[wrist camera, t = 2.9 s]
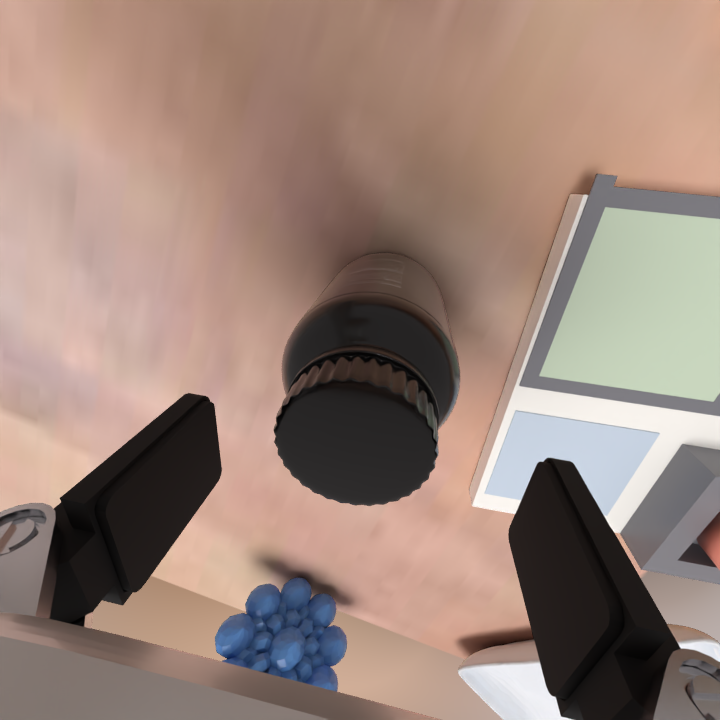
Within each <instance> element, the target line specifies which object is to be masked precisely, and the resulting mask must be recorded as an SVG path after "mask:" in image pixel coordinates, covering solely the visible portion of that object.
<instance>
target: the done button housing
mask: <svg viewBox="0 0 720 720" xmlns="http://www.w3.org/2000/svg"><path fill="white" fill-rule="evenodd" d="M719 512H720V450H718V449H712V448H705V447H699V446H693V445H686V444H682V445H681V446H680V448H679V449H678V451H677V452H676V453H675V455H674V456H673V458H672V459H671V461H670V462H669V463H668V465H667V466H666V468H665V469H664V471H663V472H662V473H661V475H660V476H659V478H658V479H657V481H656V482H655V484H654V485H653V486H652V488H651V489H650V491H649V492H648V494H647V495H646V496H645V498H644V499H643V501H642V502H641V504H640V505H639V507H638V508H637V509H636V511H635V512H634V514H633V515H632V517H631V518H630V519H629V521H628V522H627V524H626V525H625V527H624V528H623V530H622V531H621V532H620V534H621V536H622V538H623V539H624V541H625V543H626V544H627V546H628V548H629V549H630V551H631V553H632V555H633V556H634V558H635V560H636V561H637V563H638V565H639V567H640V568H641V570H646V571H652V572H657V573H663V574H667V575H673V576H678V577H683V578H688V579H694V580H699V581H705V582H710V583H715V584H720V570H719V569H718V568H717V566H716V565H715V564H714V563H713V561H712V560H711V559H710V558H709V556H708V555H707V554H706V553H705V551H704V550H703V549H702V547H701V546H700V545H699V544H698V542H697V539H696V538H697V537H698V536H699V535H700V534H701V532H702V531H703V530H704V529H705V528H706V527H707V525H708V524H709V523H710V522H711V521H712V520H713V519H714V517H715V516H716V515H717V514H718V513H719Z"/></svg>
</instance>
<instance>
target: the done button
mask: <svg viewBox="0 0 720 720" xmlns="http://www.w3.org/2000/svg"><path fill="white" fill-rule="evenodd" d="M696 539H697V542H698V544H699V545H700V546H701V547H702V549H703V550H704V551H705V553H706V554H707V555H708V556H709V558H710V559H711V560H712V561H713V563H714V564H715V565H716V566H717V568H718V569H719V570H720V512H719V513H718V514H717V515H716V516H715V517H714V519H713V520H712V521H711V522H710V523H709V524H708V525H707V527H706V528H705V529H704V530H703V531H702V532H701V534H700V535H699V536H698V537H697V538H696Z"/></svg>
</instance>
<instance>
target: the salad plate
mask: <svg viewBox="0 0 720 720" xmlns="http://www.w3.org/2000/svg"><path fill="white" fill-rule="evenodd" d="M667 625H668V627H669V629H670V630H671V632H672V634H673V636H674V637H675V639H676V641H677V643H678V644H679V646H680V648H681V649H682V648H684V649H691V650H696V651H699V652H701V653H703V654H706V655H708V656H711V657H712V658H714V659H715V660H717V661H719V662H720V643H719V642H718V641H717V640H715V639H714V638H712V637H711V636H709V635H707V634H705V633H703V632H701V631H699V630H696V629H693V628H689V627H685V626H679V625H672V624H667ZM458 674H459V675H460V677H462V679H463V680H464V681H465V682H466V683H467V684H468V685H469V686H470V687H471V688H472V689H473V690H474V691H475V692H476V693H477V694H478V695H479V696H480V697H481V698H482V699H483V700H484V701H485V702H486V703H487V704H488V705H489V706H490V707H491V708H492V709H493V710H494V711H495V712H496V713H497V714H498V715H499V716H500V717H501V718H502V719H503V720H573V719H569V718H565V717H561V715H560V711H559V708H558V704H557V700H556V697H554V696H551V695H550V693H549V692H548V690H547V687H546V684H545V680H544V676H543V672H542V668H541V664H540V661H539V657H538V653H537V649H536V645H535V641H534V639H533V640H527V641H521V642H515V643H510V644H506V645H501V646H494V647H489V648H486V649H483V650H480V651H478V652H475V653H473V654H472V655H470V656H469V657H467V658H466V659H465V660H464V661H463V663H462V664H461V665H460V667H459V669H458Z"/></svg>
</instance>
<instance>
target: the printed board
mask: <svg viewBox="0 0 720 720" xmlns="http://www.w3.org/2000/svg"><path fill="white" fill-rule="evenodd" d="M616 179H617V176H613V175H602V174H596V176H595V179H594V182H593V185H592V187H591V190H590V193H589V195H584V194H570V196H569V199H568V202H567V205H566V207H565V210H564V213H563V216H562V219H561V222H560V225H559V228H558V231H557V234H556V237H555V240H554V243H553V245H552V248H551V251H550V254H549V257H548V260H547V263H546V266H545V269H544V272H543V275H542V278H541V281H540V283H539V286H538V289H537V292H536V295H535V298H534V301H533V304H532V307H531V310H530V313H529V316H528V319H527V321H526V324H525V327H524V330H523V333H522V336H521V339H520V342H519V345H518V348H517V351H516V354H515V357H514V359H513V362H512V365H511V368H510V371H509V374H508V377H507V380H506V383H505V386H504V389H503V392H502V395H501V397H500V400H499V403H498V406H497V409H496V412H495V415H494V418H493V421H492V424H491V427H490V430H489V433H488V435H487V438H486V441H485V444H484V447H483V450H482V453H481V456H480V459H479V462H478V465H477V468H476V471H475V473H474V476H473V479H472V482H471V485H470V488H469V492H470V498H471V504H472V506H474V507H480V508H485V509H490V510H496V511H501V512H507V513H512V514H516V511H517V509H518V507H519V504H520V502H521V500H522V497H523V495H524V493H525V490H526V488H527V486H528V483H529V481H530V479H531V476H532V474H533V472H534V470H535V467H536V465H537V463H538V462H544V460H545V459H546V458H555V459H561V460H566V461H571V462H573V464H574V465H575V466H576V468H577V470H578V471H579V473H580V475H581V477H582V478H583V480H584V482H585V484H586V485H587V487H588V489H589V491H590V492H591V494H592V496H593V498H594V499H595V501H596V503H597V505H598V506H599V508H600V510H601V511H602V513H603V515H604V517H605V518H606V520H607V522H608V524H609V525H610V527H611V528H612V530H613V532H616V533H620V532H621V531H622V530H623V528H624V527H625V525H626V524H627V522H628V521H629V519H630V518H631V517H632V515H633V514H634V512H635V511H636V509H637V508H638V507H639V505H640V504H641V502H642V501H643V499H644V498H645V496H646V495H647V494H648V492H649V491H650V489H651V488H652V486H653V485H654V484H655V482H656V481H657V479H658V478H659V476H660V475H661V473H662V472H663V471H664V469H665V468H666V466H667V465H668V463H669V462H670V461H671V459H672V458H673V456H674V455H675V453H676V452H677V451H678V449H679V448H680V446H681V445H682V444H686V445H693V446H699V447H705V448H712V449H718V450H720V197H714V196H704V195H694V194H683V193H673V192H663V191H653V190H643V189H632V188H622V187H613V186H614V184H615V181H616Z"/></svg>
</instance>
